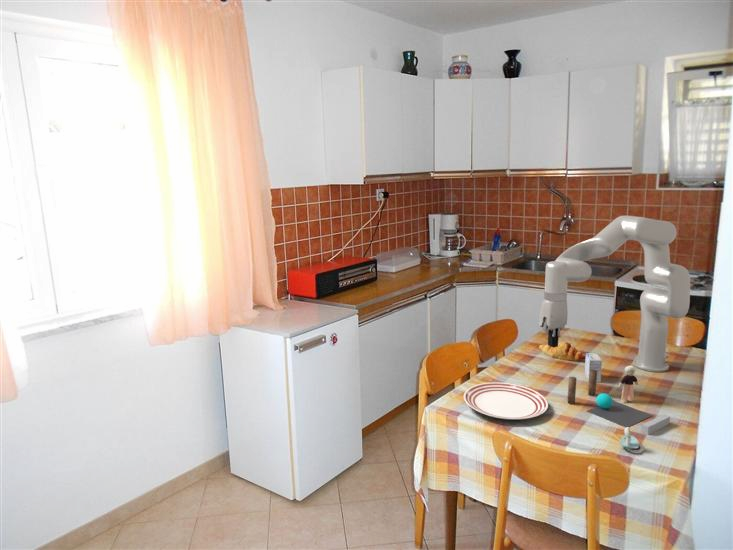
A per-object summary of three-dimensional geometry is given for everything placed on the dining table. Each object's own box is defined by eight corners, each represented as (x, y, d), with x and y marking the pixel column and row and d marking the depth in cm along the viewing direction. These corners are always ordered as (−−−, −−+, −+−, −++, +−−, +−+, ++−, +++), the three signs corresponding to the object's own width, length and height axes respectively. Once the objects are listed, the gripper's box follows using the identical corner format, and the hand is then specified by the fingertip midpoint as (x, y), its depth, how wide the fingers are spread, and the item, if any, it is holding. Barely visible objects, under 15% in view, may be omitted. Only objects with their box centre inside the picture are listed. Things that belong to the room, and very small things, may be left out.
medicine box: (600, 382, 202) (602, 360, 200) (588, 382, 203) (589, 359, 201) (596, 374, 209) (597, 353, 208) (584, 374, 210) (585, 352, 209)
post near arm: (590, 392, 193) (592, 368, 191) (596, 395, 191) (598, 370, 189) (586, 394, 192) (588, 370, 190) (592, 396, 190) (594, 372, 188)
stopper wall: (663, 421, 171) (663, 414, 171) (669, 423, 170) (670, 416, 169) (641, 432, 165) (642, 424, 164) (647, 434, 163) (648, 427, 163)
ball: (617, 397, 179) (613, 410, 180) (604, 389, 183) (601, 403, 185) (607, 399, 177) (603, 412, 178) (594, 391, 181) (591, 405, 182)
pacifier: (643, 445, 158) (620, 440, 161) (646, 425, 156) (623, 420, 159) (642, 457, 151) (618, 451, 154) (645, 436, 150) (621, 431, 153)
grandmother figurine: (625, 405, 183) (628, 369, 180) (615, 401, 186) (618, 365, 184) (640, 400, 186) (643, 365, 184) (630, 396, 190) (633, 361, 187)
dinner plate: (562, 406, 183) (563, 397, 183) (520, 435, 165) (520, 425, 164) (492, 384, 203) (492, 376, 202) (447, 407, 184) (447, 398, 183)
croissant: (535, 359, 236) (531, 346, 232) (546, 344, 241) (542, 331, 238) (582, 371, 221) (579, 357, 217) (593, 355, 226) (589, 340, 222)
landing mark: (612, 400, 186) (612, 400, 186) (652, 415, 175) (652, 415, 175) (586, 411, 179) (586, 410, 179) (626, 427, 168) (627, 427, 167)
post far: (570, 400, 187) (571, 376, 185) (576, 403, 185) (578, 378, 183) (565, 402, 186) (567, 377, 184) (571, 404, 184) (573, 379, 182)
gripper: (560, 291, 199) (557, 339, 203) (532, 297, 191) (530, 347, 195) (577, 295, 193) (574, 344, 197) (550, 301, 185) (547, 353, 189)
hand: (552, 346), depth 196 cm, fingers closed
